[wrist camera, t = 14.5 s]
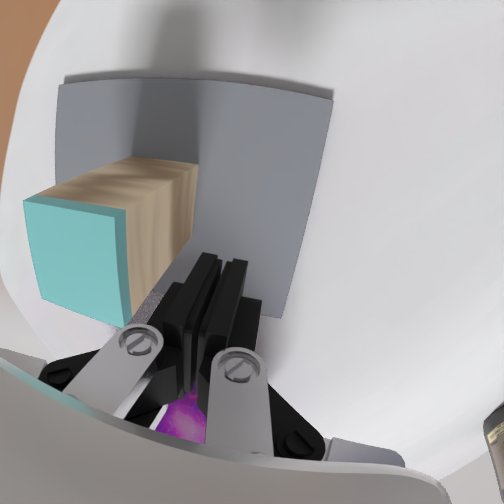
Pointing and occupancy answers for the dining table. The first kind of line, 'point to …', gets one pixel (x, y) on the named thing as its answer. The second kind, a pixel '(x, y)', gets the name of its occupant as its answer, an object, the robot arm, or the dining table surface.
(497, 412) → the liquor
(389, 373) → the dining table surface
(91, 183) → the maple block
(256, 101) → the slate mat
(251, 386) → the robot arm
